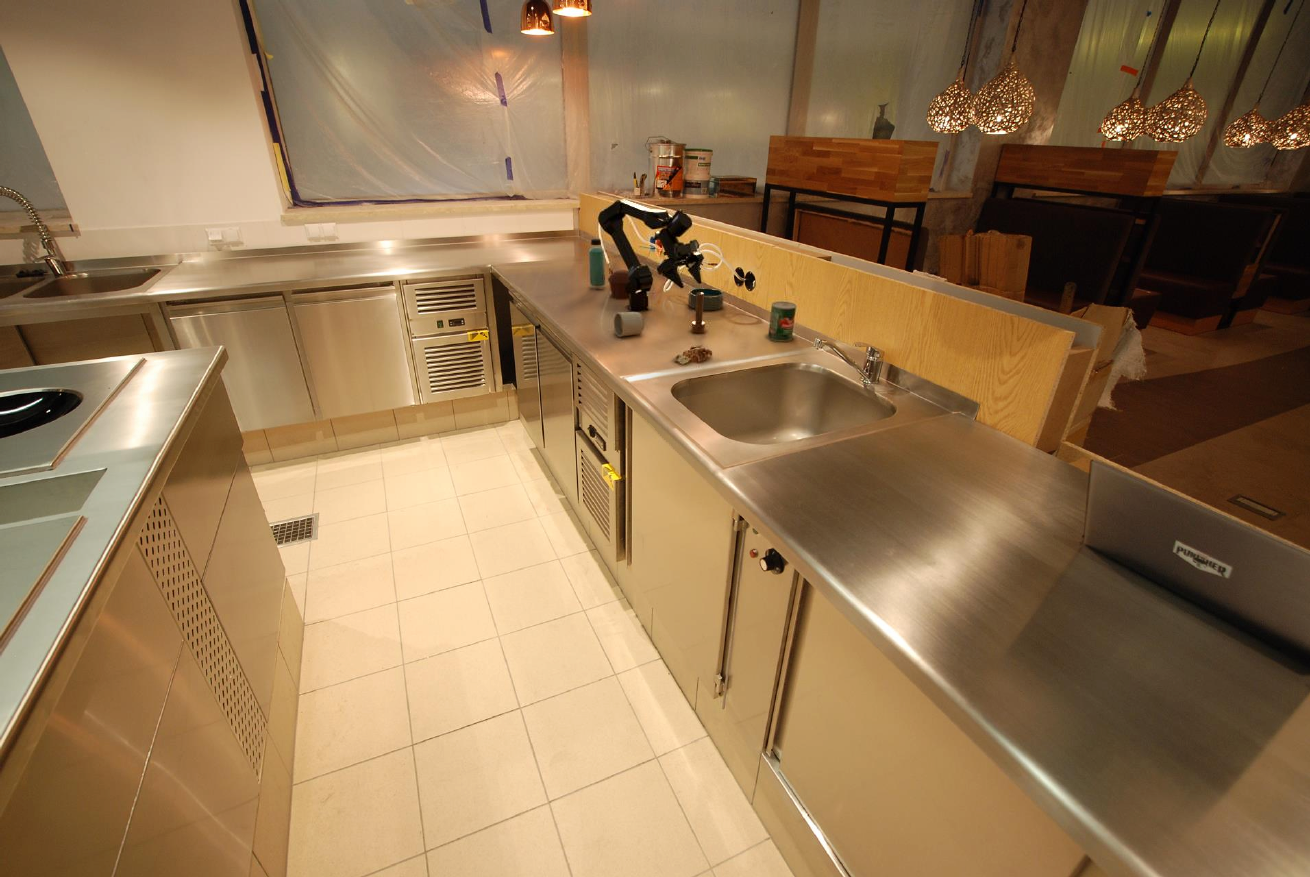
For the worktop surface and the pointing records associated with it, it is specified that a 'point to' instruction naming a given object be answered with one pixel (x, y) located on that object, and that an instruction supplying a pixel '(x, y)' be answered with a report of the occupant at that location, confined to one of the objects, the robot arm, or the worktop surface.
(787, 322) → the canned tomato
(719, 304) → the bowl
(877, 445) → the worktop surface
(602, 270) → the beverage bottle
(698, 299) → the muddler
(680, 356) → the pastry
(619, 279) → the muffin
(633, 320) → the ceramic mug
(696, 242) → the robot arm
